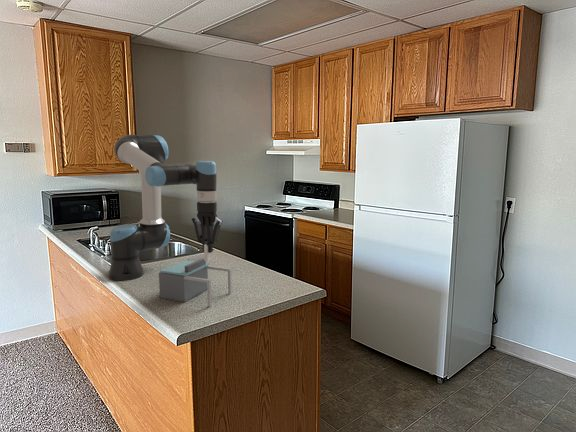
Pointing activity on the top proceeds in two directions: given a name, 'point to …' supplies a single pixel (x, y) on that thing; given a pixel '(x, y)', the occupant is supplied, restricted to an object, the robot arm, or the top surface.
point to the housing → (188, 285)
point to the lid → (185, 267)
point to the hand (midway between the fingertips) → (207, 260)
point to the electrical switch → (196, 258)
